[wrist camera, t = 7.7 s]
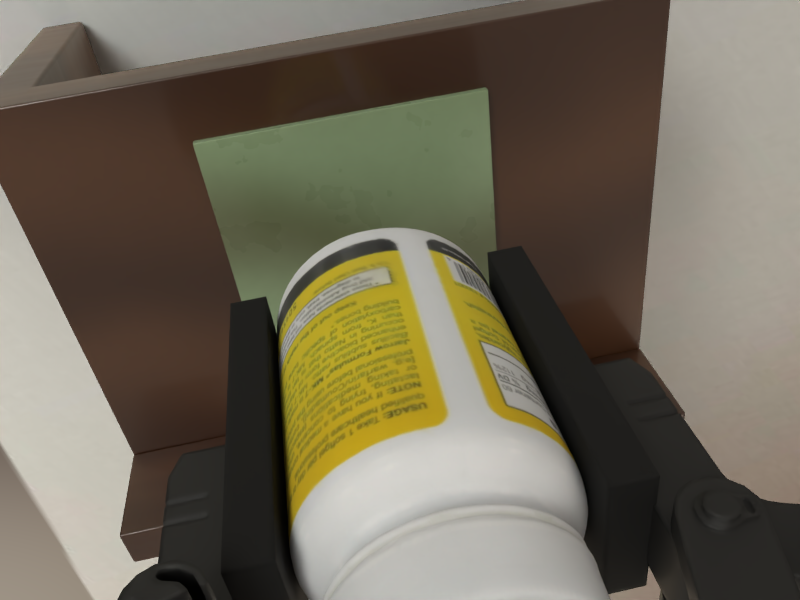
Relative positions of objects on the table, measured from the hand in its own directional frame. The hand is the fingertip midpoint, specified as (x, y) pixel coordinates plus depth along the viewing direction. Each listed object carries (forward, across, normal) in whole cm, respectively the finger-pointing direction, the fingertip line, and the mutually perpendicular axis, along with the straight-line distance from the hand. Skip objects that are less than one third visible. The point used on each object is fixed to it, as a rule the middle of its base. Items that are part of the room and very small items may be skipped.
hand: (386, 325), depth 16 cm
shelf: (+11, 0, -1) cm, 11 cm away
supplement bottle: (+1, 0, 0) cm, 1 cm away
